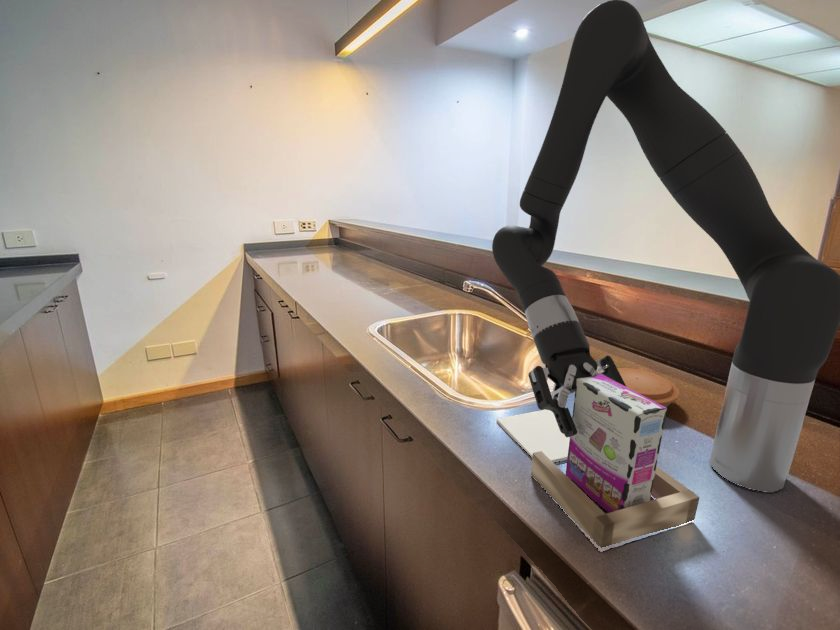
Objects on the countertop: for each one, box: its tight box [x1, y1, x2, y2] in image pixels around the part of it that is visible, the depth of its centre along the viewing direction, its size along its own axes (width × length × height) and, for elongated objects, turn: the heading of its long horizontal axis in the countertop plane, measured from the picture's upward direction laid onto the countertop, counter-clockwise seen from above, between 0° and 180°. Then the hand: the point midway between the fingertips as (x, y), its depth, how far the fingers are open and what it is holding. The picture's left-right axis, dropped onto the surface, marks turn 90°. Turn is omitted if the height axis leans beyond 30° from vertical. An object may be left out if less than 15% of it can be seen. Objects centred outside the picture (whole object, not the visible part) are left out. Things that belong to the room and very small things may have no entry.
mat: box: [496, 409, 570, 464], centre depth 74 cm, size 12×14×1 cm
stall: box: [530, 451, 700, 548], centre depth 59 cm, size 15×15×4 cm
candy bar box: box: [565, 374, 668, 514], centre depth 58 cm, size 11×5×16 cm, turn 21°
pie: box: [599, 367, 681, 408], centre depth 86 cm, size 16×16×5 cm
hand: (597, 430), depth 60 cm, fingers open, 8 cm apart
